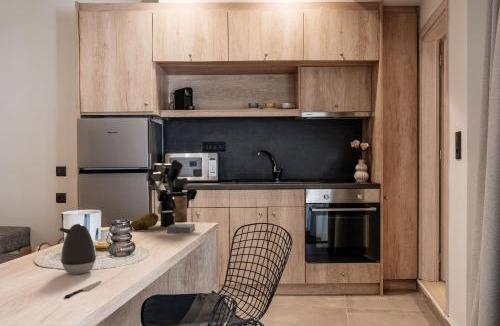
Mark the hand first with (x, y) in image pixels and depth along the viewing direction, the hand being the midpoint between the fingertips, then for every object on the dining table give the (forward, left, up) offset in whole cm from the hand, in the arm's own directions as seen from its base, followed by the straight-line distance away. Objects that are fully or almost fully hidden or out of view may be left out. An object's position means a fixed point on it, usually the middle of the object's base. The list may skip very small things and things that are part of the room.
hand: (181, 208), depth 229 cm
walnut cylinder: (-1, +1, -7) cm, 7 cm away
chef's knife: (-4, -98, -11) cm, 98 cm away
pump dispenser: (-15, -80, -11) cm, 82 cm away
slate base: (-1, +1, -11) cm, 11 cm away
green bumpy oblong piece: (-20, +6, -11) cm, 23 cm away
